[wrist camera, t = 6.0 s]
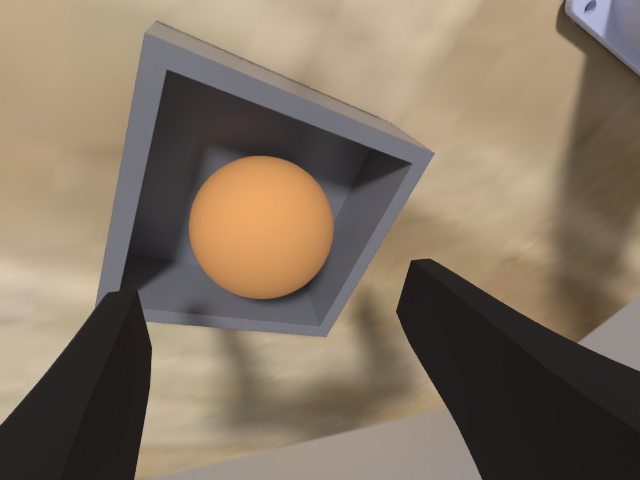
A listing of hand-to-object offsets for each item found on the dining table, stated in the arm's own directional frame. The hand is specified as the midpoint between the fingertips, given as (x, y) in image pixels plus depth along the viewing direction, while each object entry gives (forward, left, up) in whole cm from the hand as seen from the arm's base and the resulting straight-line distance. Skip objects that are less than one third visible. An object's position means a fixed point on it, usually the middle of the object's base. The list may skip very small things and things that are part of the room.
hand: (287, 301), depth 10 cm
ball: (0, 0, -6) cm, 6 cm away
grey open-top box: (0, 0, -7) cm, 7 cm away
